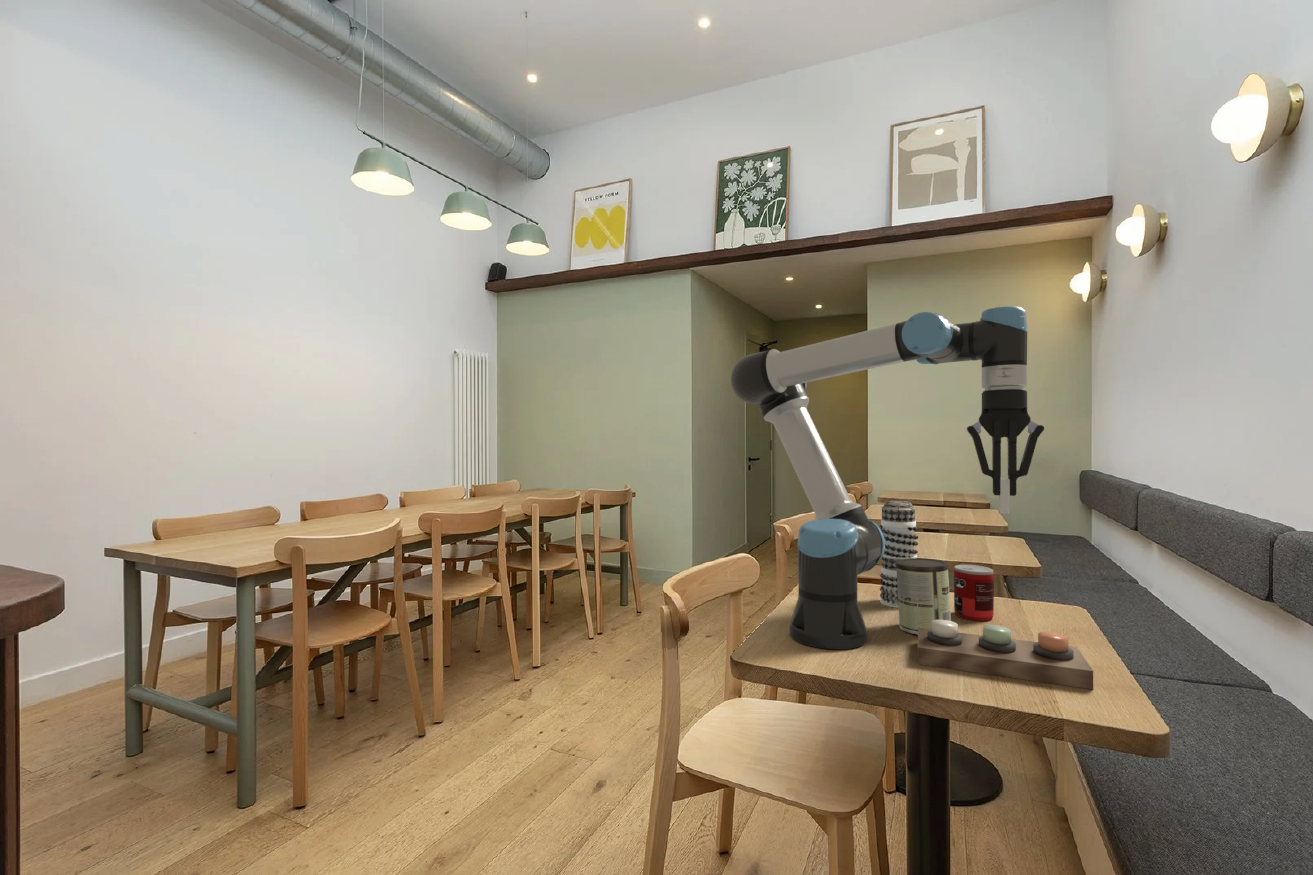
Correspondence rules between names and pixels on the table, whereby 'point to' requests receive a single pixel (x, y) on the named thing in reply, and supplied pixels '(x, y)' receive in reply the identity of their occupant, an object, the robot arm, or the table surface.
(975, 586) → the canned food
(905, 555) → the decorative candle
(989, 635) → the button green
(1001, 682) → the table surface
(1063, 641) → the button terracotta
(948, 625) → the button cream
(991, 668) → the button panel
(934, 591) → the coffee can
